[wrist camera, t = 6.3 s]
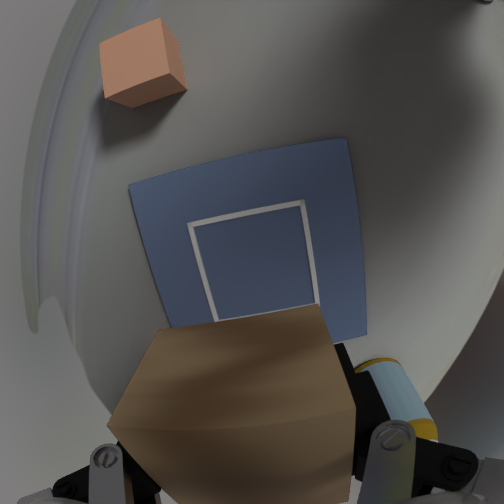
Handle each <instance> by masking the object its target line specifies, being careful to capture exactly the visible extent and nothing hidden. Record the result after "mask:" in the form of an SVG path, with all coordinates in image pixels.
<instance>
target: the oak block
mask: <svg viewBox="0 0 504 504" xmlns="http://www.w3.org/2000/svg"><path fill="white" fill-rule="evenodd" d="M355 419H356V406H355V403H354V400H353V397H352V395H351V392H350V389H349V386H348V383H347V380H346V378H345V375H344V372H343V369H342V366H341V364H340V361H339V358H338V355H337V353H336V350H335V347H334V345H333V342H332V339H331V337H330V334H329V331H328V329H327V326H326V324H325V321H324V318H323V316H322V313H321V311H320V308H319V305H318V303H317V304H313V305H308V306H303V307H298V308H293V309H288V310H282V311H277V312H272V313H266V314H260V315H255V316H249V317H243V318H237V319H231V320H224V321H218V322H211V323H204V324H197V325H190V326H183V327H175V328H167V329H159V330H158V331H157V333H156V335H155V337H154V339H153V340H152V342H151V344H150V346H149V347H148V349H147V351H146V353H145V355H144V356H143V358H142V360H141V362H140V364H139V365H138V367H137V369H136V371H135V373H134V375H133V376H132V378H131V380H130V382H129V384H128V386H127V388H126V389H125V391H124V393H123V395H122V397H121V399H120V401H119V403H118V405H117V407H116V408H115V410H114V412H113V414H112V416H111V418H110V420H109V422H108V424H107V427H108V428H109V429H110V430H111V432H112V433H113V434H114V436H115V437H116V438H117V439H118V441H119V442H120V443H121V444H122V446H123V447H124V448H125V449H126V450H127V452H128V453H129V454H130V455H131V456H132V457H133V459H134V460H135V461H136V462H137V463H138V464H139V465H140V466H141V467H142V469H143V470H144V471H145V472H146V473H147V474H148V475H149V476H150V477H151V478H152V479H153V480H154V481H155V482H156V483H157V484H158V485H159V486H160V487H161V488H162V489H163V490H164V491H165V492H166V493H167V494H168V495H169V496H170V497H171V498H172V499H174V500H175V501H176V502H177V503H178V504H339V503H343V502H348V500H349V493H350V484H351V475H352V465H353V453H354V439H355Z"/></svg>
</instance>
